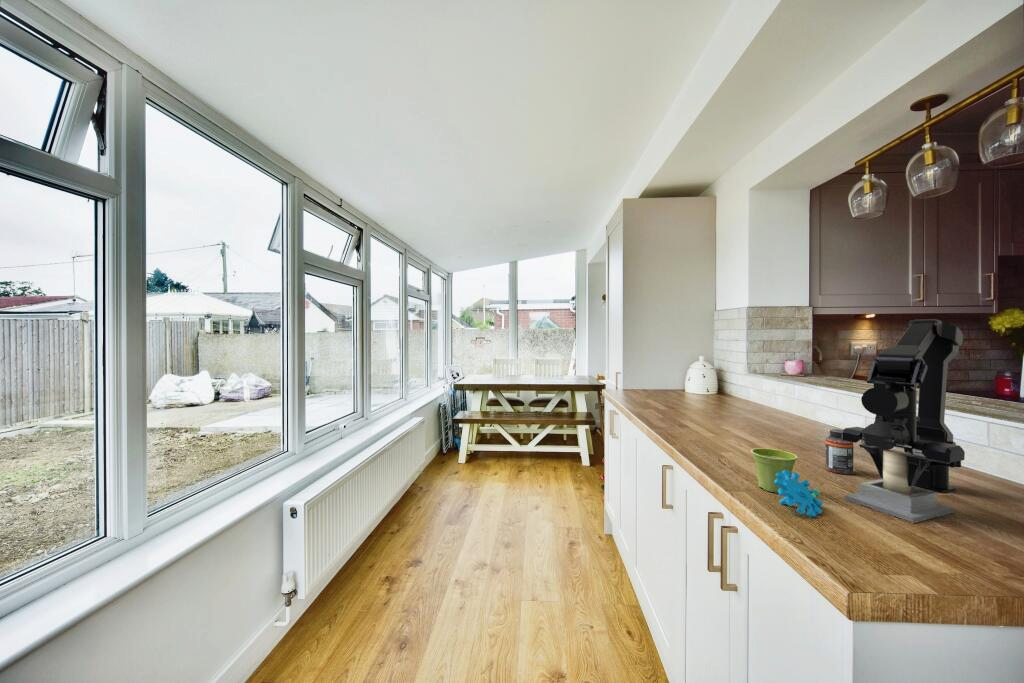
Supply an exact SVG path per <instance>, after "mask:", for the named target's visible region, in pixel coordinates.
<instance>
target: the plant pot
mask: <svg viewBox="0 0 1024 683" xmlns="http://www.w3.org/2000/svg"><path fill="white" fill-rule="evenodd" d="M750 452H751V454H752V455H753V456H752V458H753V459H754V463H755V470H756V477H757V478H756V479H757V482H758V484H757V485H758V487H759V488H762V490H764V491H767V492H772V493H774V492H775V494H779V493H778V489H780V488H781V487H780V486H778V485H776V484H775V483H774V481H775V480H776V479H777V477H776V474H777V473H779V472H782V471H784V470H787V471H789V472H790V475H789V477H790V478H791V479H792V474H793V468H794V465H795V463H796V461H797V460H798V458H799V457H798V456H797V454H795V453H792V452H789V451H784V450H780V449H775V448H765V447H760V448H759V447H756V448H751V450H750ZM784 478H785V477H784Z"/></svg>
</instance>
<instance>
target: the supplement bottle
mask: <svg viewBox="0 0 1024 683" xmlns="http://www.w3.org/2000/svg"><path fill="white" fill-rule="evenodd" d="M843 430H844V429H838V428H830V430H829V435H828V436H827V437H825V444H824V445H825V447H824V449H825V454H824V455H825V456H824V457H825V461H824V462H825V463H824V464H825V469H826V470H827V471H828V472H831V473H834V474H837V475H838V474H839V475H852V474H853V473H854V442H850V441H845V440H842V431H843Z"/></svg>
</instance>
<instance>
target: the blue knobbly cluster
mask: <svg viewBox="0 0 1024 683" xmlns="http://www.w3.org/2000/svg"><path fill="white" fill-rule="evenodd" d="M789 475H790V472H789V471H787V470H784V471H782V472H779V473H777V474H776V477H777V479H776V480H775V481H774V483H775V484H776V485H778V486H780V487H781V488H780V489H778V493H777V494H779V496H783V498H781V499H780V500H779V504H781V505H782V504H784V505H785V504H786V505H787V506H789V507H792V506H794V505H795V504H797V505H798V506H799V507H797V508H796V512H797V513H798V514H800V515H804V514H806V515H807V516H808V517H810V518H815V517H816V516H817V515H820V514H822V512H823V510H822V509H821V507H822V506H823V501H822V500H820V499H818V498H817V497H819V494H821V493H822V492H821V490H820V489H819V488H815V489H809V488H808V487H810V486H811V484H810V482H809V481H808V479H804V480H802V481H799V480H798V479H800V478H801V475H799V474H798V473H797V472H792V475H791V478H790V477H789ZM784 477H785V478H784ZM806 510H807V511H806Z"/></svg>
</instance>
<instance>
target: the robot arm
mask: <svg viewBox="0 0 1024 683" xmlns="http://www.w3.org/2000/svg"><path fill="white" fill-rule="evenodd" d="M963 341H964V336H963V331H962V330H961V329H960V328H959V327H958V326H957V325H953V324H950V323H949V324H948V323H945V322H943V321H941V320H940V319H936V318H932V319H931V318H929V319H927V318H926V319H925V318H924V319H913V320H909V321H908V324H907V329H906V330H905V332H904V333H903V334H902V336H901V337H900V338H899V340H898V341H897V342H896V344H895V345H894V346H892V347H889V348H885V349H883V350H882V351H880V352H879V353H878V354H877V356H876V357H874V358H873V361H872V363H871V366H870V369H869V373H868V376H867V379H866V384H872V385H873V387H871V388H869V389H866V390H865V391H864V392H863V393H862V396H861V399H860V401H861V404H862V406H863V408H864V410H866V411H867V412H869V413H870V414H873V415H875V418H874V422H873V423H870V424H869V425H867V426H865V427H859V426H852V427H845V428H843V429H842V430H843V431H842V440H845V441H850V442H853V444H857V443H858V442H860V444H858V446H859V448H862V449H864V450H865V451H866V452H867V453H868V454H869V455H870V457H871V458H872V461H873V462H874V465H875V467H876V470H877V472H878V473H879V474H878V475H879V476H880V479H883V450H893V449H894V447H896V448H900V449H903V452H906V453H910V454H911V455H907V456H906V457H907V459H908V461H909V470H908V485H909V486H914V487H918V488H922V489H925V490H929V491H933V492H934V491H935V492H936V493H938V492H939V493H946V492H950V491H951V492H952V491H956V490H957V486H953V485H950V481H949V480H950V477H949V476H950V468H951V469H954V468H962V461H965V455H966V454H965V451H964V449H963V447H961V445H957V443H956V442H955V441H954V434H953V433H952V430H950V429H949V427H948V426H947V424H945V414H946V411H945V410H946V400H947V399H946V397H947V382H948V381H947V380H948V364H949V363H950V362H951V360H953V359H954V358H955V357H956V356H957V355H958V354H959V350H960V346H962V344H963ZM918 387H919V388H918ZM917 388H918V389H919V390H918V391H917ZM917 392H918V394H917ZM917 396H918V403H917Z"/></svg>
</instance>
